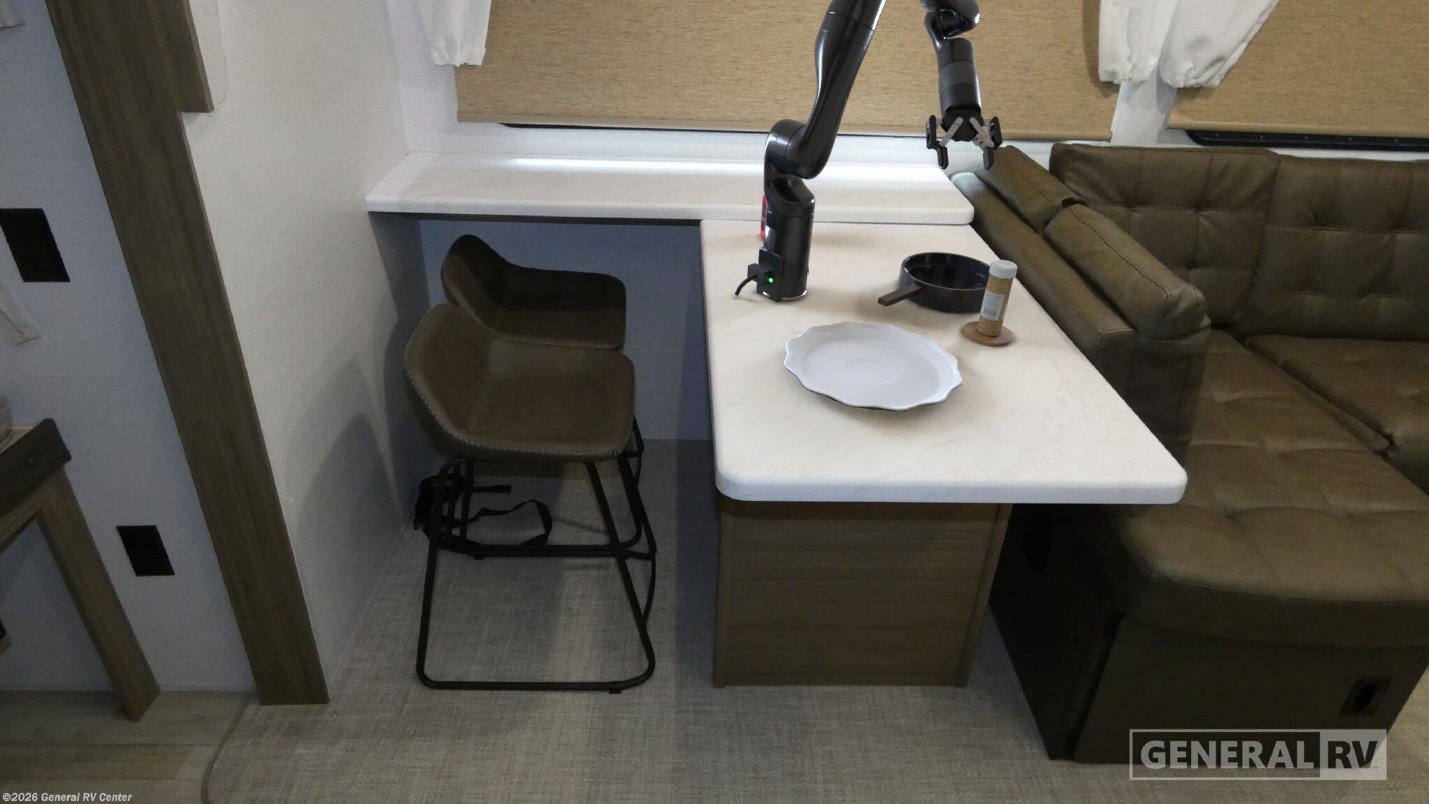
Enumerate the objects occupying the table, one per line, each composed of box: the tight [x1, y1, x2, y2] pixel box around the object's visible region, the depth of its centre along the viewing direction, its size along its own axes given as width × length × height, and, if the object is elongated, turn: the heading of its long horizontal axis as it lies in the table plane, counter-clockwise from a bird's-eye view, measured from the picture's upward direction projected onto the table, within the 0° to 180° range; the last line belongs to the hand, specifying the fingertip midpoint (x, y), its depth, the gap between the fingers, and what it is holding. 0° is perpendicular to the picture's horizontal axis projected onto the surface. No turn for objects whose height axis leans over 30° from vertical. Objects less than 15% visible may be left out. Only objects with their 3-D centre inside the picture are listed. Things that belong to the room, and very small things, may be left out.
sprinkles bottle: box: [977, 259, 1018, 336], centre depth 151 cm, size 5×5×14 cm
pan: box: [897, 251, 991, 314], centre depth 169 cm, size 19×19×5 cm
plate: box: [783, 320, 964, 412], centre depth 140 cm, size 29×29×2 cm
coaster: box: [962, 320, 1014, 347], centre depth 155 cm, size 9×9×1 cm
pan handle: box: [876, 283, 923, 308], centre depth 159 cm, size 11×2×1 cm, turn 131°
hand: (966, 168), depth 159 cm, fingers open, 8 cm apart
